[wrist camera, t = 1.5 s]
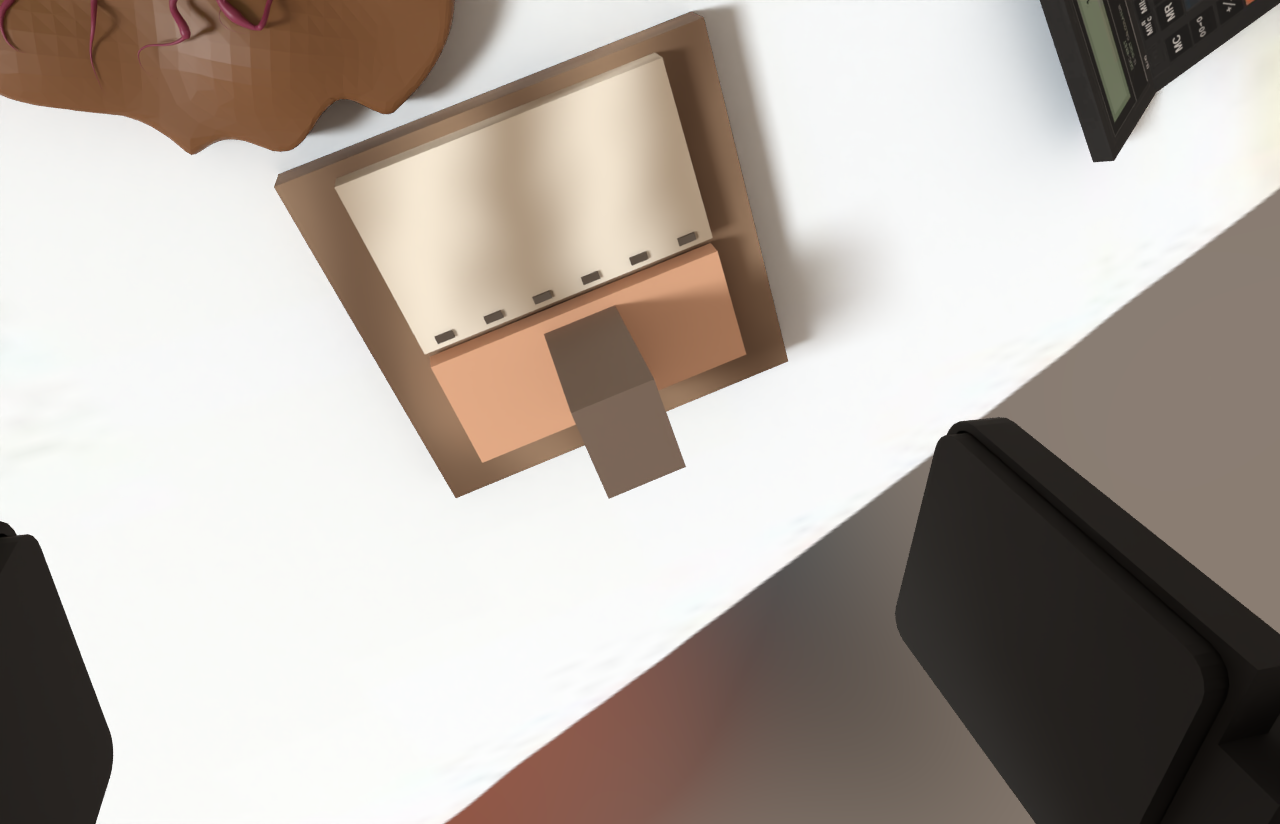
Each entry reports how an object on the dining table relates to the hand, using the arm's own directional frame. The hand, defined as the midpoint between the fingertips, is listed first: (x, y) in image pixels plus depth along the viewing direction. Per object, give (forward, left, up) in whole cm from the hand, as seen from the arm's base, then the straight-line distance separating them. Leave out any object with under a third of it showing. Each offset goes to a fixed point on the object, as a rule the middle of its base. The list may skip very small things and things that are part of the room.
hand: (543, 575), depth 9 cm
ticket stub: (-2, +11, -24) cm, 27 cm away
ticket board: (-2, +8, -26) cm, 27 cm away
